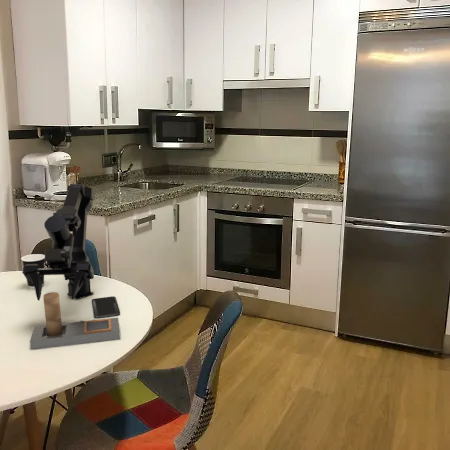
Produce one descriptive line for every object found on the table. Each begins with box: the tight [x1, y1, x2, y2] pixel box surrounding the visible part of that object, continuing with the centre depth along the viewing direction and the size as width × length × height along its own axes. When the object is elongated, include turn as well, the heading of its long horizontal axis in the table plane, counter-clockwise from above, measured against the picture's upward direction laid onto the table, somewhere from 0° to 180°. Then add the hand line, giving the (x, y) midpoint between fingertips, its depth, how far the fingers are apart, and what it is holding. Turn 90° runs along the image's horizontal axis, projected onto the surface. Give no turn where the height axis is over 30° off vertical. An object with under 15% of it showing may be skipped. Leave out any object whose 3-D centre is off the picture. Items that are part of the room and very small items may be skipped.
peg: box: [42, 291, 64, 337], centre depth 130 cm, size 4×4×13 cm
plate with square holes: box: [29, 317, 121, 350], centre depth 133 cm, size 23×9×3 cm, turn 105°
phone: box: [91, 296, 121, 320], centre depth 153 cm, size 8×1×15 cm
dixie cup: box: [20, 253, 45, 290], centre depth 170 cm, size 8×8×11 cm
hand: (55, 299), depth 133 cm, fingers open, 9 cm apart
